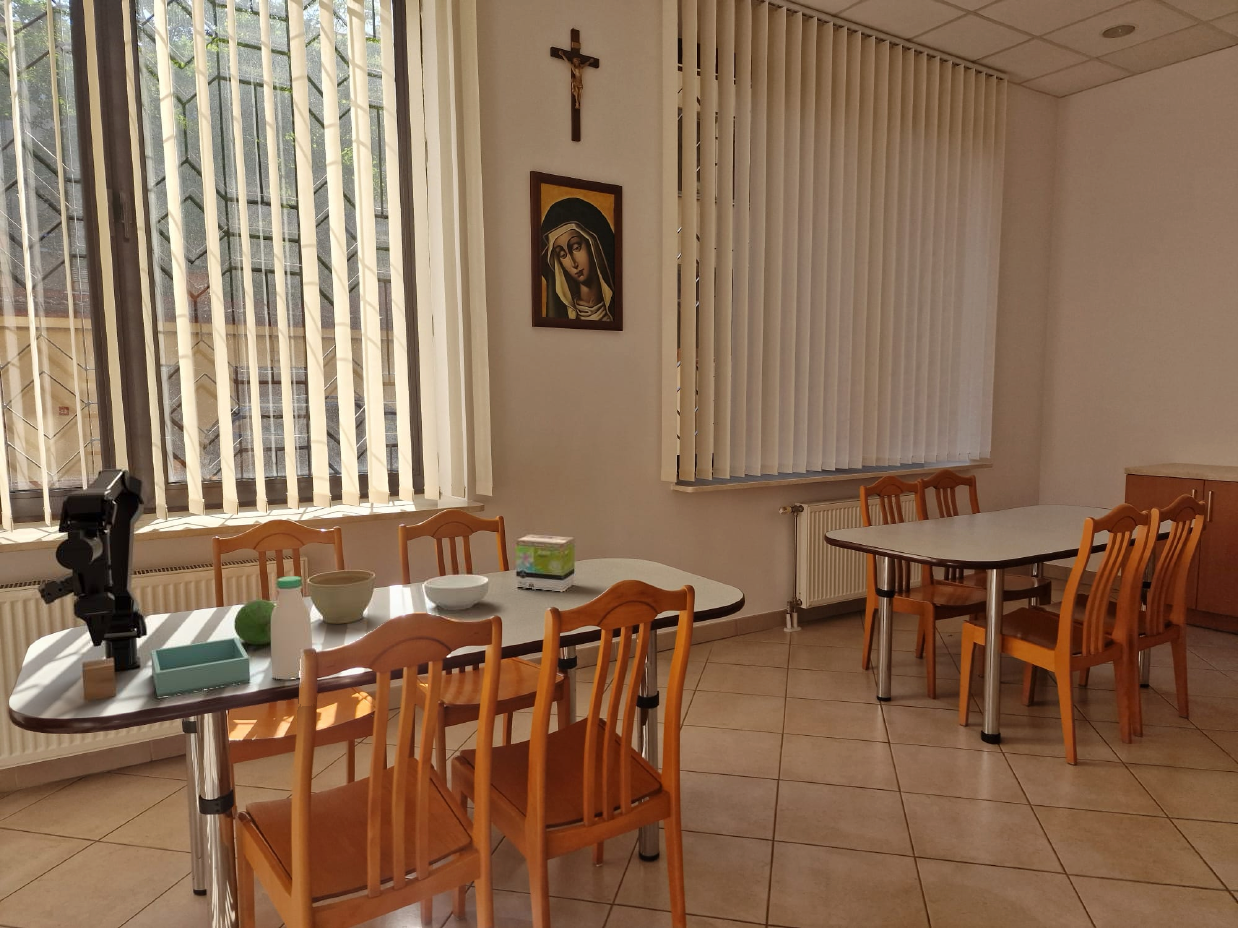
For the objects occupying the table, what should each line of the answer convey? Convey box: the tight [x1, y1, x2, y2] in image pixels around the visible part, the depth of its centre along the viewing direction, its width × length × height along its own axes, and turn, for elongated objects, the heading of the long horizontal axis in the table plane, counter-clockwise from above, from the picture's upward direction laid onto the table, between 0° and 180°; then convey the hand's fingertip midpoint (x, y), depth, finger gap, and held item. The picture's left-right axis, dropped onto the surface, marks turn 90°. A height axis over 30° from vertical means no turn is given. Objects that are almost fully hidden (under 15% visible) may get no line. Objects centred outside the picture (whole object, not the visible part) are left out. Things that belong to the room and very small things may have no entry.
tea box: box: [515, 533, 575, 590], centre depth 237 cm, size 15×10×15 cm
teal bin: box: [150, 636, 251, 698], centre depth 162 cm, size 16×16×5 cm
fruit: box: [233, 599, 276, 646], centre depth 183 cm, size 15×10×10 cm, turn 35°
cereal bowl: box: [423, 574, 490, 611], centre depth 217 cm, size 17×17×7 cm
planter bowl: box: [307, 569, 376, 625], centre depth 204 cm, size 16×16×11 cm
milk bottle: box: [270, 575, 313, 680], centre depth 163 cm, size 8×8×20 cm
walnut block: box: [81, 658, 117, 702], centre depth 153 cm, size 5×5×6 cm
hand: (97, 639), depth 153 cm, fingers open, 9 cm apart
